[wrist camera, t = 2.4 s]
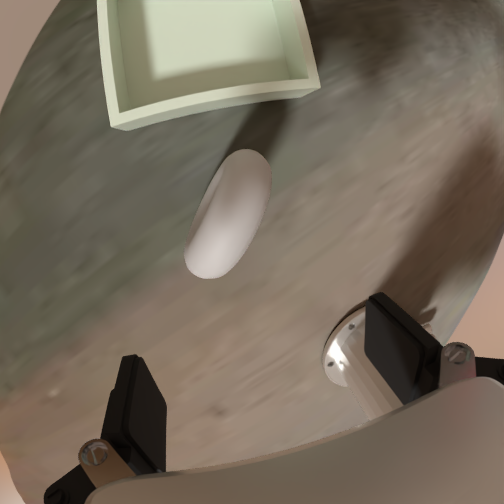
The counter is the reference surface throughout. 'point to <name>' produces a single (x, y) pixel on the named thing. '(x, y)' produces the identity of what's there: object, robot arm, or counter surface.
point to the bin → (200, 56)
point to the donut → (228, 214)
